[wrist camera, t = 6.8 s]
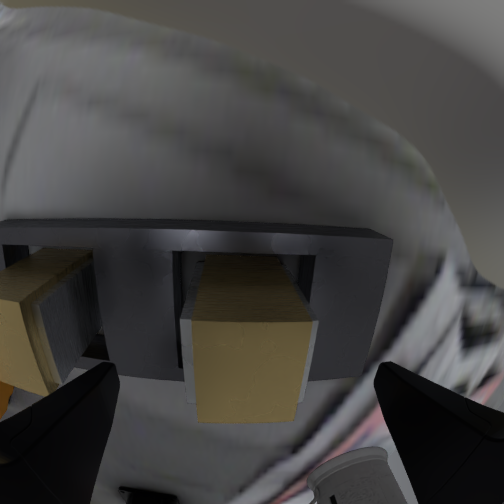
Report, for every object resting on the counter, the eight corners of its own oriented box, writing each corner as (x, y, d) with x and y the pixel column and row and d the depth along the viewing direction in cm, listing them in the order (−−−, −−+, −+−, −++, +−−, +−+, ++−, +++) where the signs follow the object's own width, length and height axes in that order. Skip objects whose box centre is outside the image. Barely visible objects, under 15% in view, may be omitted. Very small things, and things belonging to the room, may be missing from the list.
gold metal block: (277, 331, 17) (305, 419, 10) (198, 330, 16) (186, 421, 9) (285, 256, 15) (326, 321, 9) (197, 253, 15) (176, 319, 8)
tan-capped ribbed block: (108, 323, 16) (58, 400, 9) (49, 315, 15) (-10, 377, 8) (99, 250, 14) (27, 303, 8) (38, 247, 14) (-40, 290, 7)
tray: (346, 352, 17) (360, 375, 15) (26, 332, 15) (9, 350, 13) (370, 229, 15) (393, 239, 13) (5, 219, 13) (-19, 228, 11)
